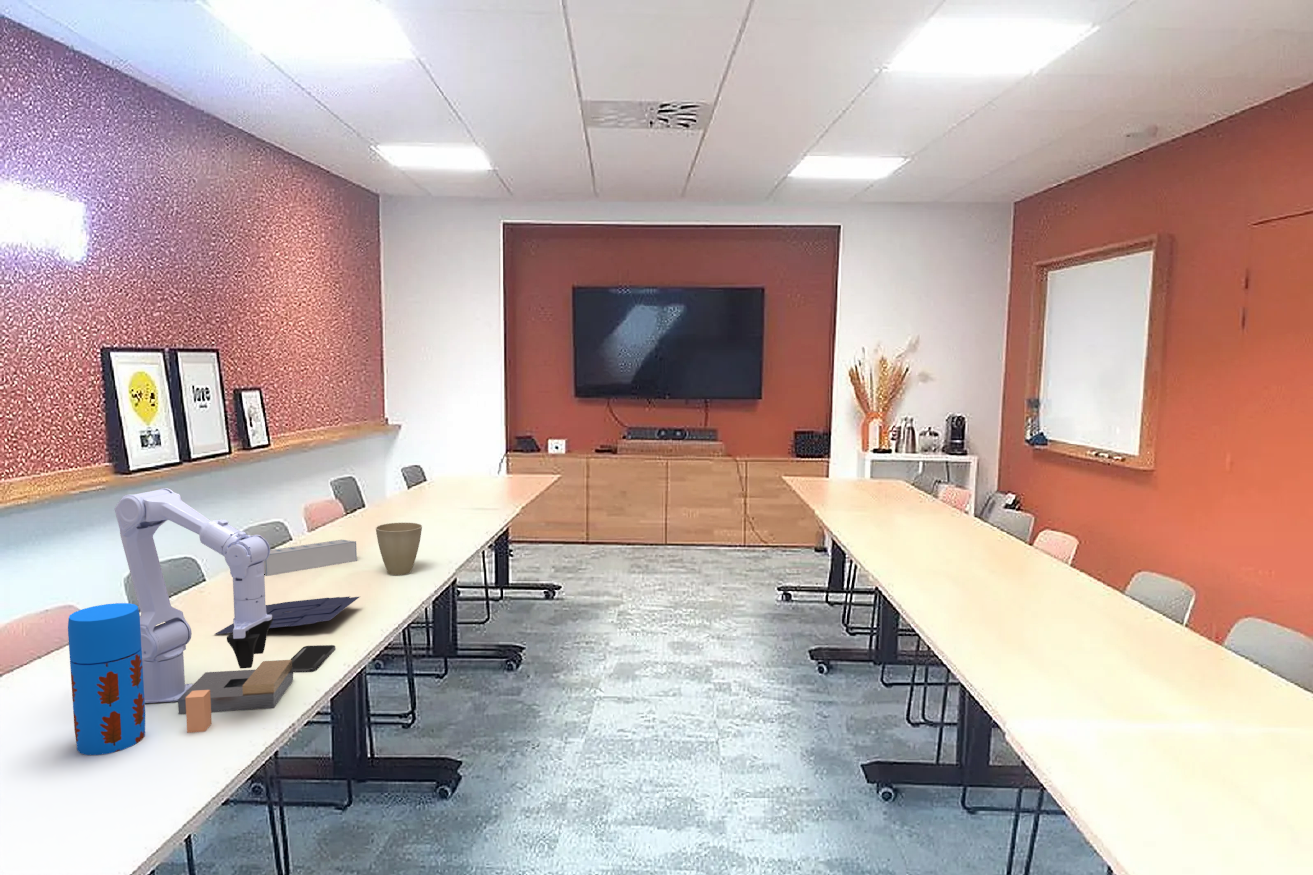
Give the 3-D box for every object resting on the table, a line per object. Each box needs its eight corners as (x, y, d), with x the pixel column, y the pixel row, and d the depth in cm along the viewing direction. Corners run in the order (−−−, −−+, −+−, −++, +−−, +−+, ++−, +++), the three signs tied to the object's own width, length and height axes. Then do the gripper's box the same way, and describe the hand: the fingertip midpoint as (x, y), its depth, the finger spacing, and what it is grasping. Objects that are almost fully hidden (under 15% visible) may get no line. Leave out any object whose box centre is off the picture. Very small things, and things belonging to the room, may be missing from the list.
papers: (328, 633, 199) (326, 619, 198) (214, 645, 199) (212, 631, 199) (364, 603, 223) (362, 591, 222) (263, 614, 223) (261, 602, 223)
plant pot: (410, 579, 251) (409, 532, 250) (368, 577, 254) (366, 530, 252) (430, 568, 266) (429, 523, 265) (390, 565, 268) (389, 521, 267)
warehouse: (341, 554, 285) (341, 534, 284) (356, 562, 274) (356, 541, 274) (253, 568, 265) (253, 547, 264) (266, 577, 254) (265, 555, 253)
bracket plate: (178, 714, 155) (177, 690, 154) (206, 685, 169) (205, 663, 168) (273, 707, 158) (273, 684, 158) (293, 680, 172) (292, 658, 171)
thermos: (158, 727, 149) (152, 602, 147) (122, 755, 139) (114, 621, 136) (102, 727, 149) (94, 602, 146) (61, 755, 138) (52, 621, 136)
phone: (279, 669, 176) (304, 645, 191) (279, 674, 176) (304, 649, 191) (314, 669, 176) (337, 645, 191) (315, 673, 177) (337, 649, 191)
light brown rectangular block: (187, 732, 147) (185, 697, 147) (194, 725, 150) (192, 690, 150) (205, 731, 148) (203, 696, 147) (211, 723, 151) (210, 689, 150)
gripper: (259, 606, 150) (262, 673, 151) (280, 585, 164) (282, 646, 166) (220, 608, 149) (223, 675, 150) (245, 586, 163) (247, 648, 164)
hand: (251, 660), depth 158 cm, fingers open, 7 cm apart
